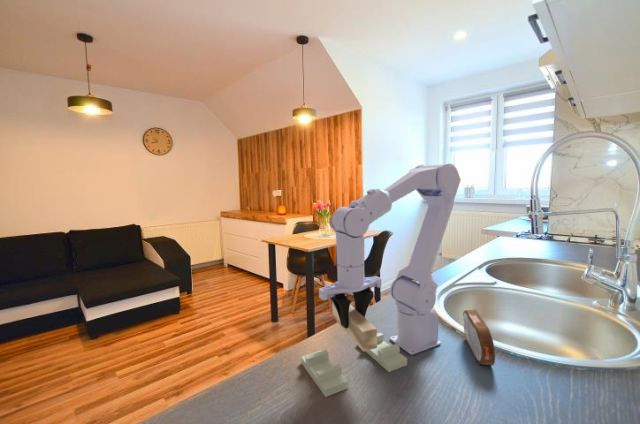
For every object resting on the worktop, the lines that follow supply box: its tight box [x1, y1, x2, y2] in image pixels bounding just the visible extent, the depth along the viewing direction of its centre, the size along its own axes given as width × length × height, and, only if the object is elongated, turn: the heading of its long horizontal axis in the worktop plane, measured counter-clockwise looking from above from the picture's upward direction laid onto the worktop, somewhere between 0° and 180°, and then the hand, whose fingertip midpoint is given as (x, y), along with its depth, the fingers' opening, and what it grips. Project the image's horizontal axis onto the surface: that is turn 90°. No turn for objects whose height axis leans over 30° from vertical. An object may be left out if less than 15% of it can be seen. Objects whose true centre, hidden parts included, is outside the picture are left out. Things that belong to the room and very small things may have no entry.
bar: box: [331, 300, 378, 352], centre depth 66 cm, size 3×16×4 cm, turn 19°
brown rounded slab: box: [462, 309, 496, 366], centre depth 69 cm, size 15×3×8 cm, turn 168°
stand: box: [300, 332, 408, 398], centre depth 67 cm, size 20×12×3 cm, turn 116°
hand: (352, 323), depth 66 cm, fingers closed on bar, 3 cm apart
